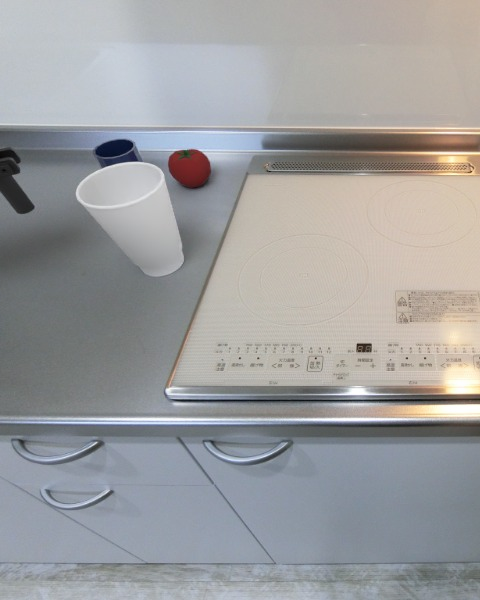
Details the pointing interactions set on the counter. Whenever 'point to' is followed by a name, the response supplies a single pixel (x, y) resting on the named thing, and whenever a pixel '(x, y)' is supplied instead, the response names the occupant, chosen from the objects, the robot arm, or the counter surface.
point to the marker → (15, 195)
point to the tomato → (189, 167)
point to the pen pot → (117, 152)
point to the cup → (135, 214)
